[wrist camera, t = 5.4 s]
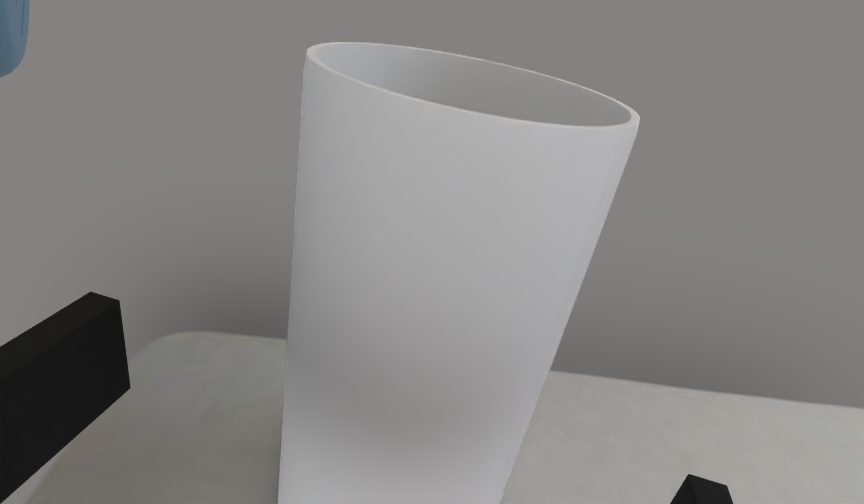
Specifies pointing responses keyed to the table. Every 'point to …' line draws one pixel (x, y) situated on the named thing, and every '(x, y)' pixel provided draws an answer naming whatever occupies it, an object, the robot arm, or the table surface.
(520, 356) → the cup
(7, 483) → the robot arm
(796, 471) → the table surface
